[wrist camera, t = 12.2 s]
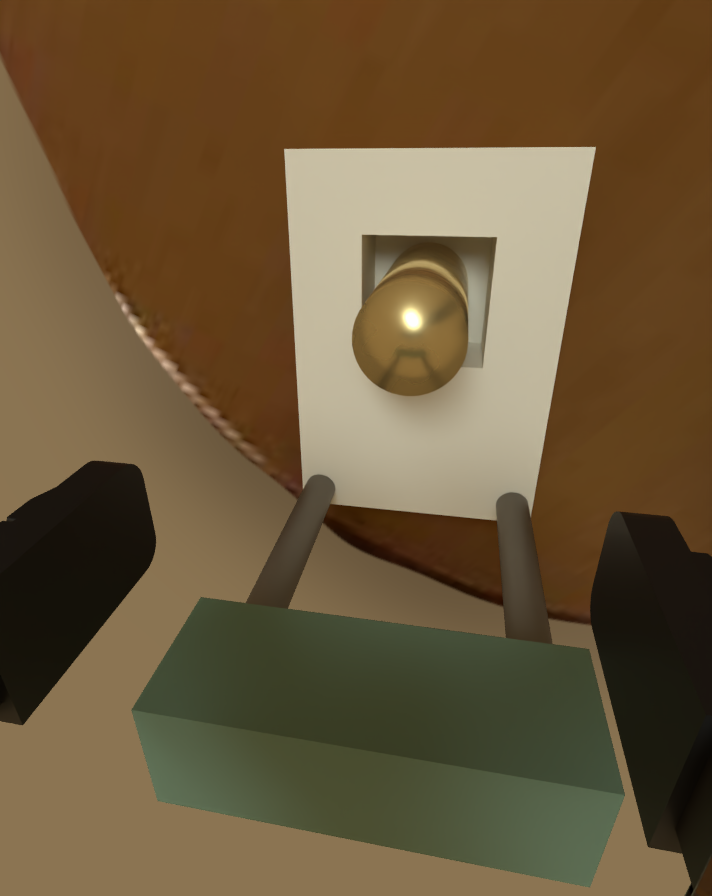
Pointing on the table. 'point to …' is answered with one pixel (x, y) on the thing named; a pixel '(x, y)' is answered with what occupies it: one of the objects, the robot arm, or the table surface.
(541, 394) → the socket stand
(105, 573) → the robot arm
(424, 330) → the brass peg
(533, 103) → the table surface
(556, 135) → the table surface
